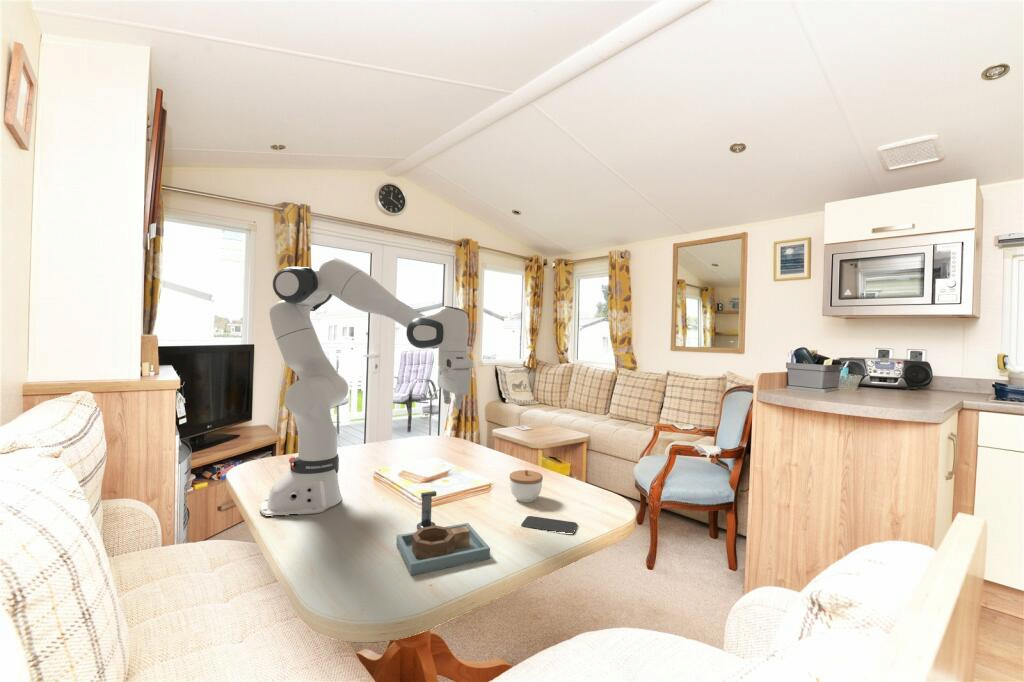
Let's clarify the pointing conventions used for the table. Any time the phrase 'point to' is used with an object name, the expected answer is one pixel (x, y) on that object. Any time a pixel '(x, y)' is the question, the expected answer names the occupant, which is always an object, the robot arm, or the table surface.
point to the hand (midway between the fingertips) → (452, 406)
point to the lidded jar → (525, 485)
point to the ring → (439, 541)
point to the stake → (426, 510)
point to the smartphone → (549, 524)
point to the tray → (459, 556)
